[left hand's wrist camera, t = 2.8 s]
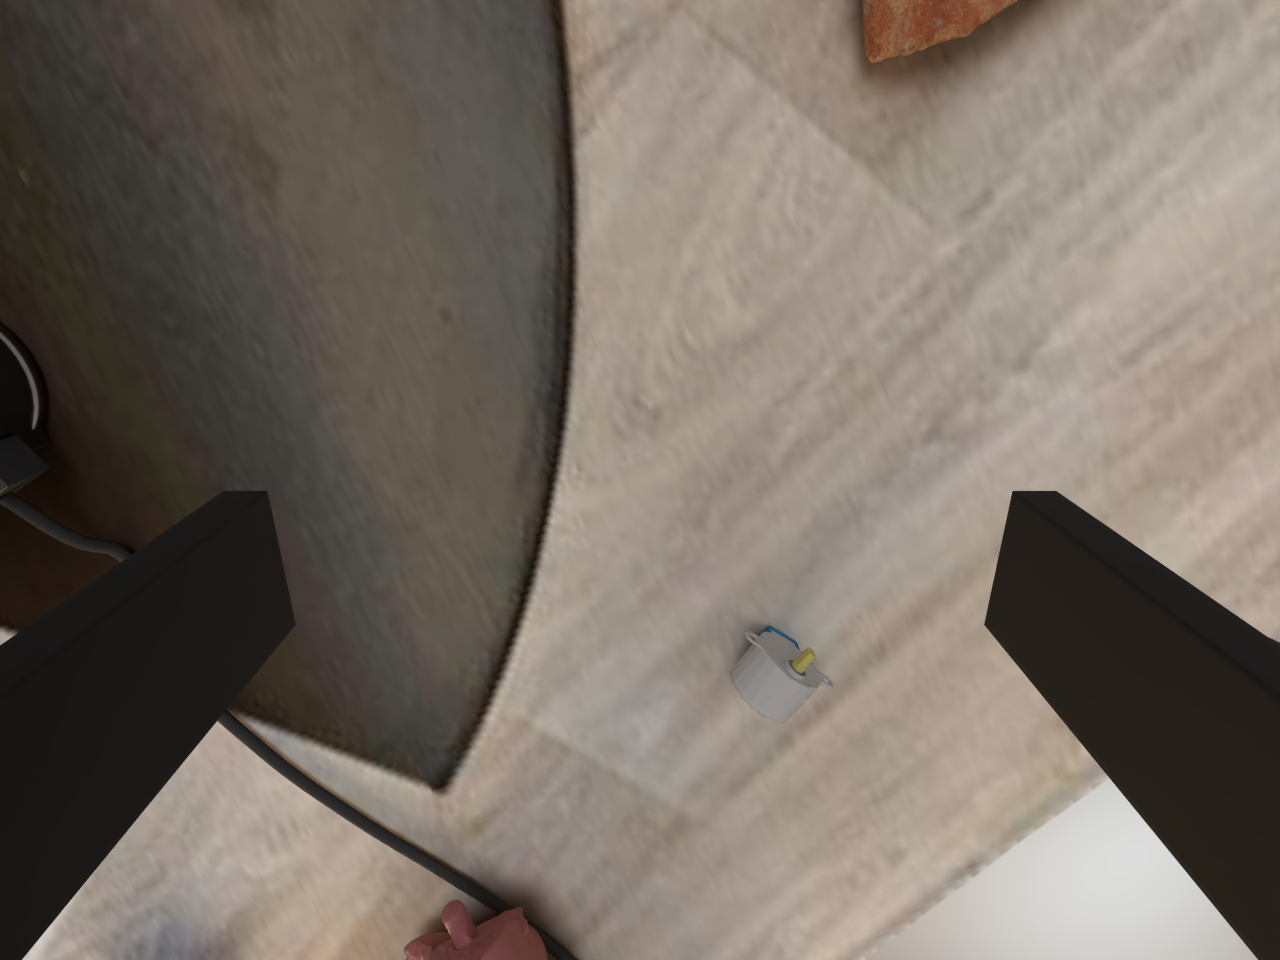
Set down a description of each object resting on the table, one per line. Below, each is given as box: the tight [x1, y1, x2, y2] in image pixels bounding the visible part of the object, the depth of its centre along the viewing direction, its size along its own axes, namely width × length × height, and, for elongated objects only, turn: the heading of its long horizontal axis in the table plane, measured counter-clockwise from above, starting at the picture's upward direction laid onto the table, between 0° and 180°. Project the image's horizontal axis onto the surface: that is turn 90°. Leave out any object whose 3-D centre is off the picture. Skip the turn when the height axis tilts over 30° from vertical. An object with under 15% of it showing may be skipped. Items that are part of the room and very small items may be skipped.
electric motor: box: [731, 626, 834, 722], centre depth 44 cm, size 7×5×5 cm
